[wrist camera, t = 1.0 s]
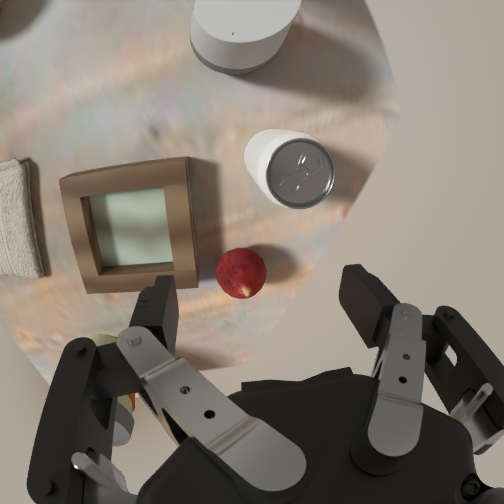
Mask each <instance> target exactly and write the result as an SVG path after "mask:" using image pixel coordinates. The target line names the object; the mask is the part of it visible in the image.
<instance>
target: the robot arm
mask: <svg viewBox="0 0 504 504" xmlns="http://www.w3.org/2000/svg"><path fill="white" fill-rule="evenodd" d="M339 301H340V304H341V306H342V307H343V309H344V310H345V312H346V314H347V315H348V317H349V318H350V320H351V322H352V323H353V325H354V326H355V328H356V330H357V331H358V333H359V334H360V336H361V338H362V339H363V341H364V343H365V344H366V346H367V347H368V348H373V347H379V350H378V353H377V356H376V359H375V363H374V367H373V370H372V374H371V377H369V376H365V375H359V374H353V372H352V370H351V368H350V367H346V368H341V369H337V370H331V371H326V372H323V373H321V374H318V375H316V376H313V377H311V378H308V379H306V380H303V381H282V380H262V381H251V382H242V383H241V386H242V387H241V389H242V391H238V392H236V393H233V394H231V395H229V396H227V397H226V396H225V395H224V394H223V393H222V392H220V391H219V390H218V389H217V388H216V387H215V386H214V385H213V384H212V383H210V382H209V381H208V380H207V379H206V378H205V377H204V376H203V375H202V374H201V373H200V372H198V371H197V370H196V369H195V368H194V367H193V366H192V365H191V364H190V363H189V362H188V361H187V360H186V359H185V358H183V357H179V358H177V359H176V358H174V354H175V344H176V335H177V326H178V317H179V308H178V300H177V293H176V287H175V280H174V276H173V275H157V277H156V280H155V283H154V286H151V287H146V288H145V289H144V290H143V291H142V292H141V293H140V294H139V297H138V300H137V303H136V306H135V309H134V312H133V315H132V318H131V321H130V324H129V328H127V329H125V330H123V331H121V332H120V333H119V335H118V336H117V338H116V342H113V343H110V344H105V345H101V346H96V344H95V342H94V341H93V340H92V339H90V338H86V337H81V338H77V339H74V340H72V341H70V342H69V343H68V344H67V345H66V346H65V348H64V350H63V353H62V355H61V358H60V361H59V363H58V366H57V369H56V372H55V374H54V377H53V380H52V383H51V386H50V389H49V392H48V395H47V398H46V402H45V405H44V408H43V412H42V415H41V419H40V422H39V426H38V430H37V434H36V438H35V442H34V446H33V451H32V456H31V461H30V466H29V471H28V477H27V489H28V493H29V495H30V497H31V498H32V500H33V501H34V502H35V503H36V504H504V488H493V487H490V486H487V485H485V484H484V483H483V482H481V480H480V479H479V477H478V475H477V473H476V469H475V464H474V457H473V454H475V455H480V454H483V453H484V452H485V451H487V450H488V449H489V448H490V447H491V446H492V445H493V444H494V443H495V442H496V441H498V440H499V439H500V438H501V437H502V436H503V435H504V366H503V365H502V363H501V362H500V361H499V359H498V358H497V357H496V356H495V355H494V353H493V352H492V351H491V350H490V348H489V347H488V346H487V344H486V343H485V342H484V341H483V340H482V339H481V337H480V336H479V335H478V334H477V333H476V331H475V330H474V329H473V328H472V327H471V326H470V325H469V323H468V322H467V321H466V320H465V319H464V318H463V317H462V316H461V314H460V313H459V312H458V311H457V310H455V309H454V308H452V307H449V306H439V307H438V308H437V309H436V312H435V314H434V315H422V313H421V311H420V310H419V309H418V308H417V307H415V306H413V305H411V304H407V303H400V302H399V301H398V300H397V298H396V297H395V296H394V295H393V294H392V293H391V292H390V290H388V288H387V287H386V286H385V285H383V283H382V282H381V281H380V280H379V278H377V277H376V276H374V275H372V274H370V273H368V272H367V271H366V270H365V269H364V268H363V267H362V265H361V264H355V265H354V264H353V265H346V266H344V268H343V273H342V279H341V284H340V289H339ZM449 345H450V346H451V348H452V349H453V350H454V352H455V353H456V355H457V363H456V365H455V367H454V365H453V364H452V363H451V361H450V359H449V358H448V357H447V355H446V354H445V352H446V350H447V348H448V346H449ZM424 372H425V373H426V375H427V377H428V378H429V380H430V382H431V383H432V385H433V387H434V388H435V390H436V392H437V393H438V395H439V397H440V399H441V400H442V402H443V404H444V406H445V407H446V409H447V411H448V413H449V415H450V416H448V415H446V414H444V413H442V412H440V411H438V410H436V409H434V408H432V407H430V406H428V405H426V404H424V403H422V402H421V397H422V390H423V380H424ZM132 393H138V395H139V396H140V397H141V398H142V400H143V401H144V403H145V404H146V405H147V407H148V408H149V409H150V410H151V412H152V413H153V414H154V415H155V417H156V418H157V419H158V421H159V422H160V423H161V424H162V426H163V428H164V429H165V431H166V432H167V434H168V435H169V436H170V438H171V439H172V440H173V441H174V442H175V444H176V445H177V446H178V448H177V449H176V450H175V451H174V453H173V454H172V455H171V456H170V457H169V458H168V459H167V460H166V461H165V462H164V464H163V465H162V466H161V467H160V468H159V469H158V470H157V471H156V472H155V473H154V474H153V475H152V476H151V477H150V478H149V479H148V480H147V481H146V483H145V484H144V485H143V486H142V487H141V489H140V491H139V493H138V495H134V494H131V493H129V491H128V489H127V486H126V480H125V477H124V475H123V474H122V473H121V471H119V469H117V468H116V467H115V466H114V465H113V464H112V463H111V455H112V443H113V433H114V424H115V415H116V407H117V400H118V397H119V396H123V395H128V394H132Z"/></svg>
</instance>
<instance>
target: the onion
mask: <svg viewBox="0 0 504 504" xmlns="http://www.w3.org/2000/svg"><path fill="white" fill-rule="evenodd" d="M216 274H217V281H218V283H219V285H220V286H221V288H222V289H223V291H224V292H226V293H227V294H229V295H230V296H231V297H235V298H239V299H244V298H249V297H252V296H254V295H255V294H256V293H257V292H258V291H260V290H261V288H262V286H263V285H264V283H265V280H266V266H265V264H264V261H263V259H262V258H261V257H260V256H259V255H258V254H257V253H256V252H255V251H253V250H250V249H247V248H236V249H233V250H230V251H228V252H227V253H225V254H224V255H223V256H222V257H221V258H220V260H219V262H218V265H217V268H216Z"/></svg>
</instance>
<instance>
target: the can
mask: <svg viewBox="0 0 504 504" xmlns="http://www.w3.org/2000/svg"><path fill="white" fill-rule="evenodd" d="M244 161H245V165H246V168H247V170H248V172H249V173H250V175H251V176H252V177H253V179H254V180H255V182H256V183H257V184H258V186H259V187H260V188H261V190H262V191H263V192H264V194H265V195H266V196H267V197H268V198H269V199H270V200H272V201H273V202H275V203H276V204H278V205H280V206H283V207H287V208H293V209H306V208H310V207H313V206H315V205H317V204H319V203H320V202H321V201H323V200H324V199H325V198H326V197H327V195H328V194H329V193H330V191H331V189H332V187H333V185H334V181H335V174H336V171H335V164H334V161H333V158H332V156H331V154H330V153H329V151H328V150H327V149H326V147H325V146H324V145H323V144H322V143H321V142H320V141H319V140H318V139H316V138H315V137H313V136H311V135H308V134H305V133H301V132H295V131H287V130H277V129H269V130H264V131H261V132H259V133H257V134H256V135H254V136H253V137H252V138H251V139H250V141H249V142H248V144H247V146H246V148H245V152H244Z"/></svg>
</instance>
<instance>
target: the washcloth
mask: <svg viewBox="0 0 504 504" xmlns="http://www.w3.org/2000/svg"><path fill="white" fill-rule="evenodd" d="M32 210H33V209H32V202H31V191H30V164H29V161H18V160H17V159H15V158H14V159H13V160H12V161H7V162H1V163H0V276H8V275H17V276H18V277H23V278H30V279H31V278H32V279H33V278H34V279H40V278H42V277H43V275H45V274H44V269H43V266H42V260H41V257H40V256H41V254H40V251H39V246H38V241H37V233H36V226H35V222H34V216H33V213H32Z"/></svg>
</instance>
